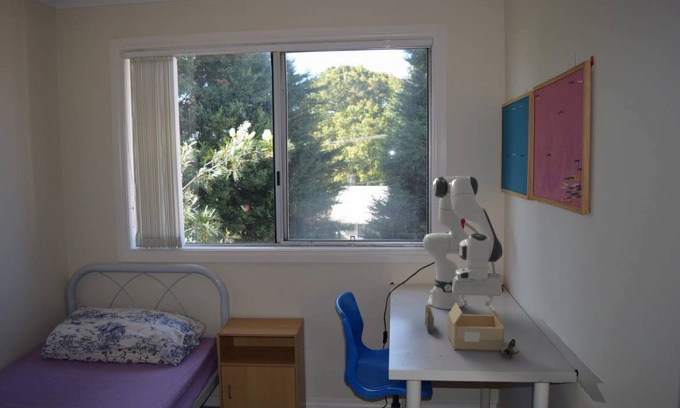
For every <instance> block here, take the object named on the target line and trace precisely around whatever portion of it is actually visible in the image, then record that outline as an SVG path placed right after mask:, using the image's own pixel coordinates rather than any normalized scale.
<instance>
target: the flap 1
mask: <svg viewBox="0 0 680 408" xmlns="http://www.w3.org/2000/svg"><path fill="white" fill-rule="evenodd" d="M462 314H463V311H462V310H461V307H459V306H458V304H457V303H455V305H454V306H453V308H452V309H450V310H449V312H448V316H450V318H451V320H452V322H453V324H454V325H455V324H456V323H457V321H458V319H459V318H460V316H461V315H462Z"/></svg>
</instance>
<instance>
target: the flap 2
mask: <svg viewBox="0 0 680 408" xmlns="http://www.w3.org/2000/svg"><path fill="white" fill-rule="evenodd" d="M489 308H490V309H491V311H492V313H493V316H495V317H496V318H497V319H498V320H499V322H500V323H501V324H502V325H503V327H505V324H504V323H503V321H502V319H501V317H500V316H499V314H498V312H497V311H496V310H495V308H494V307H493V306H492V305H491V304H490V306H489Z"/></svg>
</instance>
